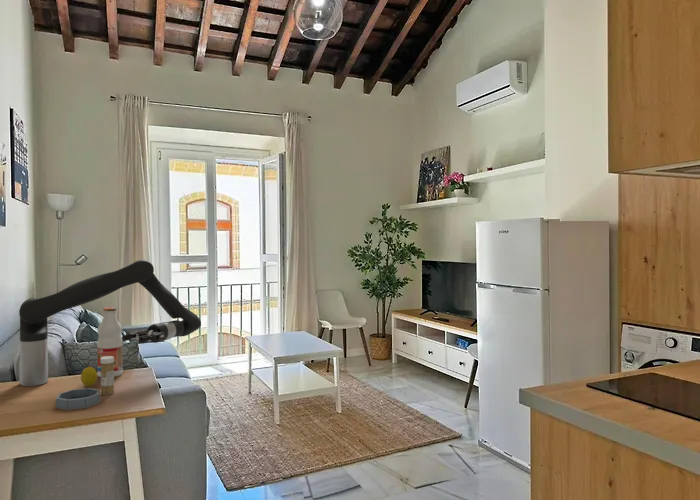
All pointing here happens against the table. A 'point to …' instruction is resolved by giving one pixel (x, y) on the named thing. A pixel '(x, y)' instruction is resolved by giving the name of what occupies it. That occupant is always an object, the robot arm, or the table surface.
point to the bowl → (78, 398)
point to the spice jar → (107, 375)
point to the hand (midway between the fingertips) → (131, 339)
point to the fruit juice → (110, 340)
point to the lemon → (89, 376)
